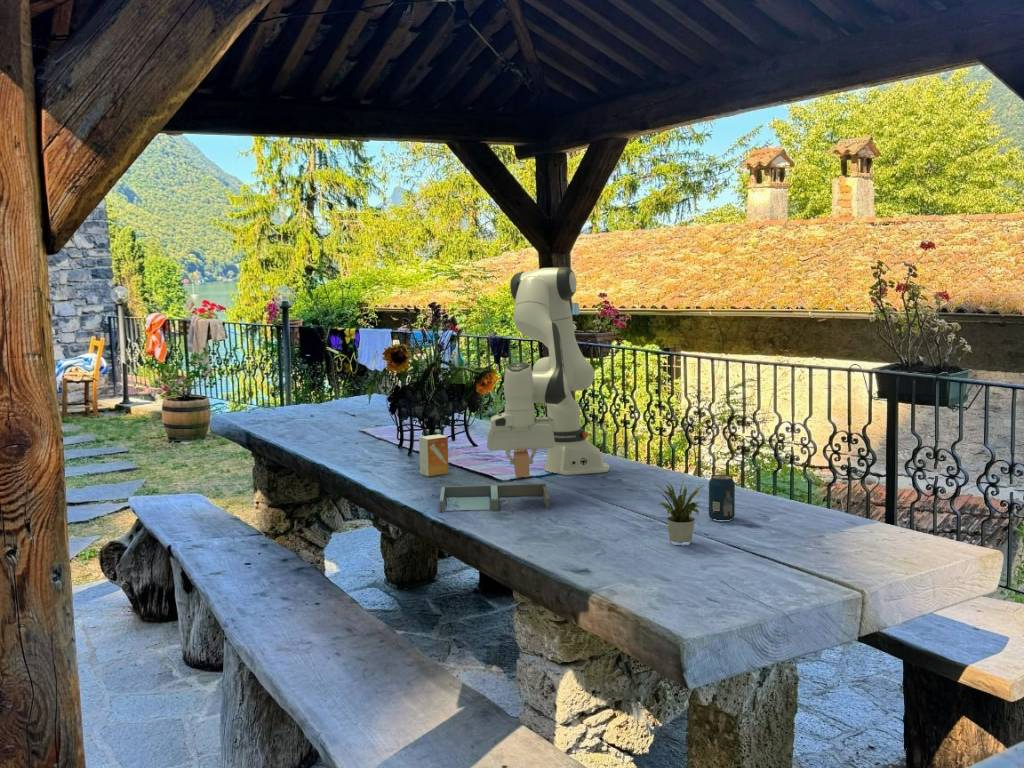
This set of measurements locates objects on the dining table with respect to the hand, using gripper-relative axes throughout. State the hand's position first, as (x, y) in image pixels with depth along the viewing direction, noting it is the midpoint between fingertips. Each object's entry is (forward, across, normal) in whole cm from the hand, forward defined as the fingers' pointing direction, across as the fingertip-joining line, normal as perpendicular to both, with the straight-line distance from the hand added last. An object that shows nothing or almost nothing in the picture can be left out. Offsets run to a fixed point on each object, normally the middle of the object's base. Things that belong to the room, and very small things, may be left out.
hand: (521, 463), depth 276 cm
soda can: (+12, -53, +26) cm, 60 cm away
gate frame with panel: (+12, +8, 0) cm, 14 cm away
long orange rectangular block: (+3, 0, 0) cm, 3 cm away
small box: (+12, +28, -43) cm, 53 cm away
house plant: (+12, -36, +45) cm, 59 cm away
